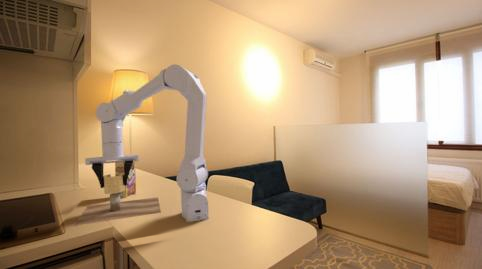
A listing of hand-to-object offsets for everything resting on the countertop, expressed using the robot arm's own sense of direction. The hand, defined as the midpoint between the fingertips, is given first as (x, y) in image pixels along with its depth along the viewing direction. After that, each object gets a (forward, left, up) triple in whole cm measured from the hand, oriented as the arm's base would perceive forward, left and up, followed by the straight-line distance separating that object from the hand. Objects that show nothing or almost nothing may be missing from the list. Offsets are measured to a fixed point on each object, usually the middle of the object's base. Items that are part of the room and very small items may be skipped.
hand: (114, 186), depth 75 cm
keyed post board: (0, -2, -9) cm, 9 cm away
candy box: (+18, -2, -9) cm, 20 cm away
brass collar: (0, 0, -2) cm, 2 cm away
